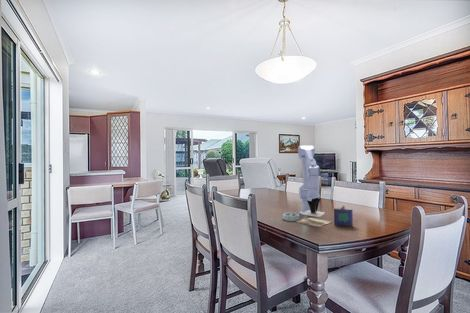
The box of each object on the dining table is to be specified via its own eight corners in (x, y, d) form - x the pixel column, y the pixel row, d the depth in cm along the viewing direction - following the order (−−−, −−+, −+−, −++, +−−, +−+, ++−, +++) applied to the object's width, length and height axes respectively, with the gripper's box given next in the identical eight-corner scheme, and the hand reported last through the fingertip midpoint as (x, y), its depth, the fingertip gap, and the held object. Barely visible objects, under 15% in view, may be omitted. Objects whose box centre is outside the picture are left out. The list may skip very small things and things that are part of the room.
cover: (307, 210, 148) (307, 203, 148) (325, 213, 142) (325, 206, 142) (301, 214, 140) (301, 206, 140) (319, 217, 134) (319, 209, 134)
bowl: (290, 216, 155) (289, 212, 155) (302, 219, 148) (302, 214, 148) (280, 219, 149) (280, 214, 149) (292, 222, 142) (292, 217, 142)
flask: (352, 225, 134) (352, 205, 134) (353, 227, 131) (353, 206, 131) (333, 224, 136) (333, 204, 136) (334, 225, 134) (334, 205, 133)
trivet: (310, 217, 151) (310, 217, 151) (332, 222, 140) (332, 221, 140) (296, 222, 142) (296, 221, 142) (317, 227, 131) (317, 226, 131)
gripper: (311, 185, 149) (311, 208, 149) (301, 188, 137) (302, 213, 137) (323, 186, 145) (323, 210, 145) (314, 189, 133) (315, 215, 133)
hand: (313, 211), depth 141 cm, fingers closed on cover, 3 cm apart
